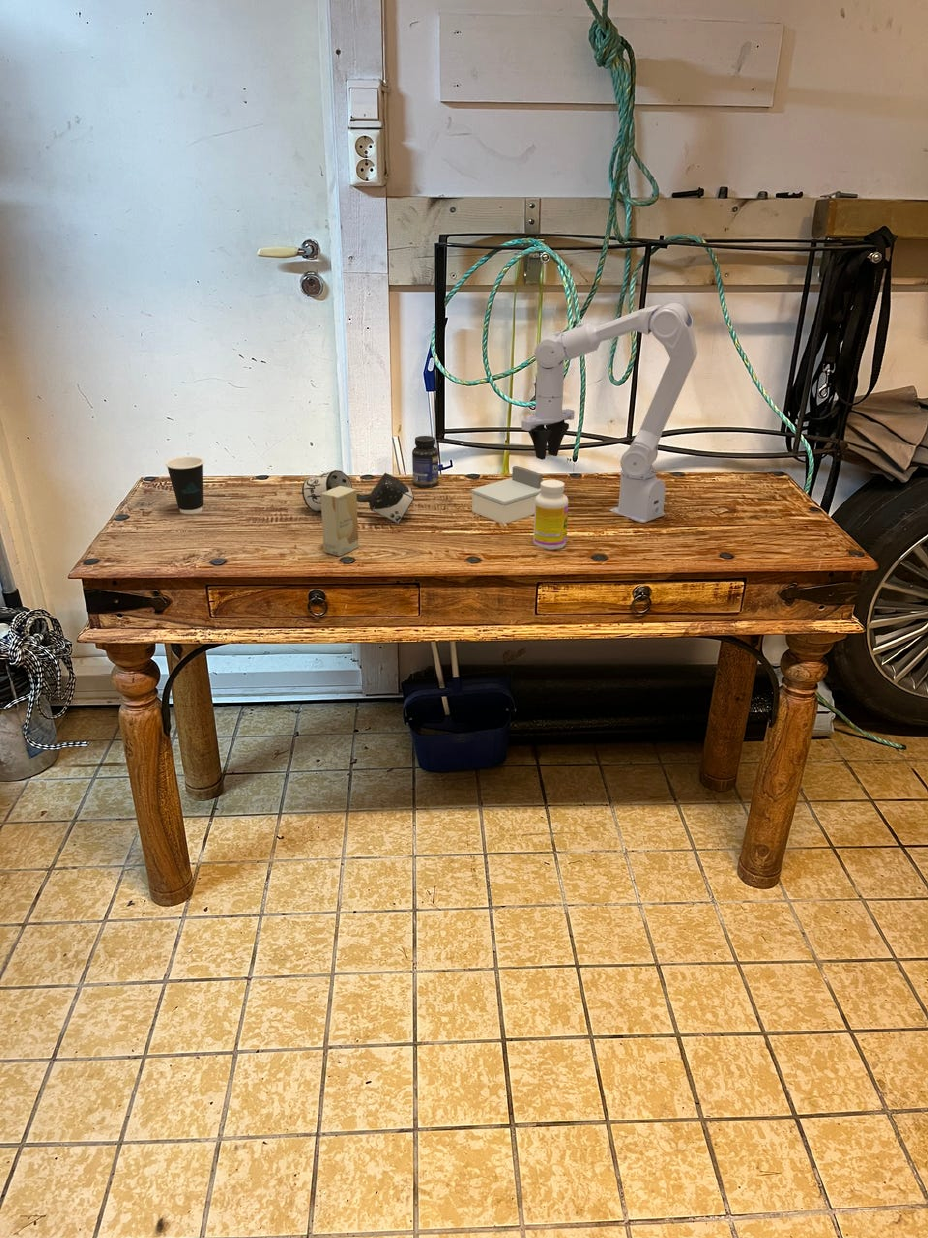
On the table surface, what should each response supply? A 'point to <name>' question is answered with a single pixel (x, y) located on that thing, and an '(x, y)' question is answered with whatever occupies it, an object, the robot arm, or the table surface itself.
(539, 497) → the supplement bottle
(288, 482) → the table surface
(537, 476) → the lid
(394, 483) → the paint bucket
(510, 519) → the box
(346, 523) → the skincare box
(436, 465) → the pill bottle
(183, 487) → the dixie cup
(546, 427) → the robot arm
